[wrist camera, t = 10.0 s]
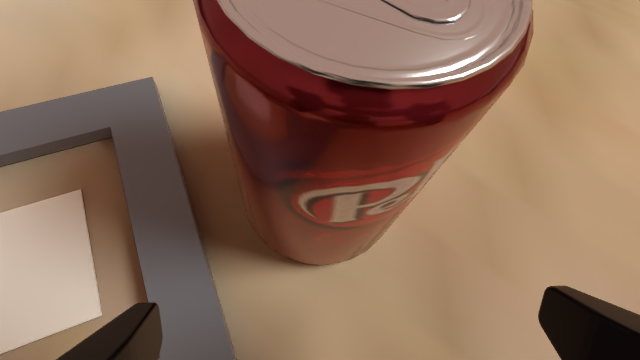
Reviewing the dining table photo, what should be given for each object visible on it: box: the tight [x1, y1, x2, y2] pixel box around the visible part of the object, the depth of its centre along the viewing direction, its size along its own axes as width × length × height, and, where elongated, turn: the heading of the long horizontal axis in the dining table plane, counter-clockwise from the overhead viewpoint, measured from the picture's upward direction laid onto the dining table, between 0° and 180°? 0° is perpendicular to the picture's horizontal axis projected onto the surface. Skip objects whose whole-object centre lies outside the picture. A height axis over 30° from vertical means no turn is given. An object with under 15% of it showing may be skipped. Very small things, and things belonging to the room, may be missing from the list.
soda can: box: [193, 0, 533, 265], centre depth 13 cm, size 7×7×12 cm
